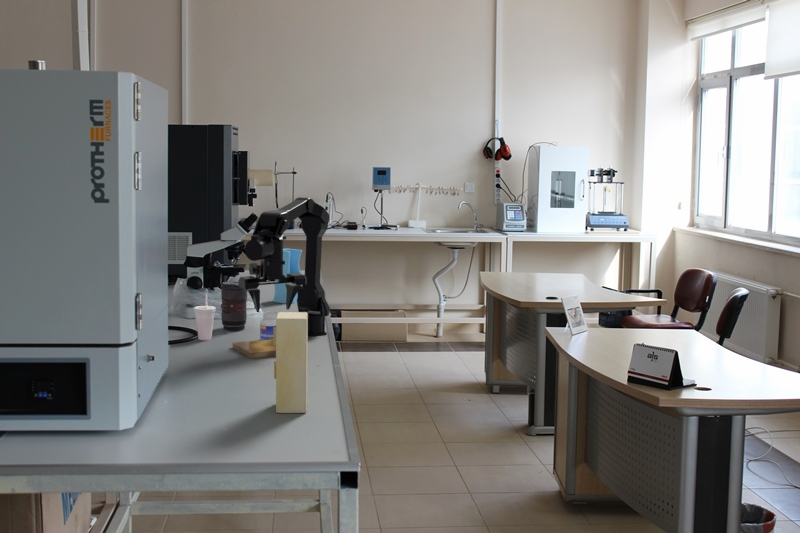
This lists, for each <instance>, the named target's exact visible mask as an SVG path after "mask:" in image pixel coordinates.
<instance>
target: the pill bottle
mask: <svg viewBox="0 0 800 533" xmlns="http://www.w3.org/2000/svg"><path fill="white" fill-rule="evenodd" d="M277 315H278V312H276V311H270V310H268V311H264V312H263V314H262V318H263V319H262V320H260V326H259V328H260V330H259V332H260V333H259V334H260V335H259V336H260V337H259V340H260V341H261V340H271V339H273V328H274V327H276V318H277Z"/></svg>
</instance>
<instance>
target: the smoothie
mask: <svg viewBox="0 0 800 533" xmlns="http://www.w3.org/2000/svg"><path fill="white" fill-rule="evenodd" d="M208 296H209V295H208V293H207V292H206V293H205V305H198V306H194V308H193V311H194V313H195V314H194V315H195V321H196V330H197V337H198V340H199V341H211V340H212V337H213V336H212V335H213V328H214V327H213V326H214V320H215V312H216V311H217V310H216V306H212V305H208V304H209V303H208V300H209V298H208Z"/></svg>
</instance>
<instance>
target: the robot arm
mask: <svg viewBox="0 0 800 533" xmlns="http://www.w3.org/2000/svg"><path fill="white" fill-rule="evenodd" d="M297 218H298V219H299V221H300V222H301V224H300V225H301V229H302V231H303V233H304V236H305V258H304V274H302V273H301V274H300V273H289V274H287V275H286V277H285V275H283V265H285V261H283V249H284V240H286V239H287V236H286V234H284V233H285V232H286V231H287V230H288V228H290V223H291V222H293V221H294V220H296V219H297ZM329 222H330V214H329V212H328V210H326V208H325V207H324V206H322V205H320V204H319V203H317V202H315V201H314V200H313V198H310V197H296V198H295V199H294V200H293V201H292V202H290V203H288V204H286V205H284V206H282V207H280V208H279V209H276V210H275V209H274V210H268V211H263V212H262V213H260V215H259V217H258V219H257V223H256V224H255V226H254V230H253V232H252V235H251V236H250V240H249V241H247V243H246V244H245V247H244V254H245V256H246V258H247V259H248V260H250V261H253V262H251V263H249V265H248V271H249V275H248V276H240V277H239V279H238V280H237V282H238V286H239V287H241V288H243V289H244V290H246V291H247V293H249V296H250V298H251V301H252V302H253V305H254V309H255V312H256V313H260V308H261V307H260V306H261V290H260V289H259V286H264V285H265V286H266V285H274V284H281V283H288V284H285V285H286V289H287V295H286V304H285V308H286V310H290V308H291V306H292V304H293V303H292V302H293V300H294V297H295V296H296V294H297V292H298V297H297V302H296V305H297V306H296V307H297V312H307V313H308V337H313V336H315V337H316V336H322V335H328V332H326V328H325V327H326V324H325V323H326V317H329V315H330V310H331V307H330V305H329V304H328V302H327V300H326V293H325V290H324V288H323V286H322V284H321V271H322V270H321V269H322V268H321V267H322V246H323V236H324V234H325V233H326V232H327V230H328V228H329V227H328V226H329ZM254 261H260V265H259V264H258V263H256V262H254ZM277 280H279V281H277Z"/></svg>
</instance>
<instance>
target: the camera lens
mask: <svg viewBox="0 0 800 533" xmlns="http://www.w3.org/2000/svg"><path fill="white" fill-rule="evenodd" d="M221 284H222V285H221V289H220V290H221V291H220V292H221V294H220V295H221V304H220V309H221V317H220V318H221V325H222V326H223V330H224V331H226V332H227V331H228V332H239V331H242V330H245V329H246V328H245V327H246V325H247V324H246V323H247V313H248V312H247V300H248V291H246V290H244V289H243V288H241V287H239V286H238V281H223V282H222V283H221Z"/></svg>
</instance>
